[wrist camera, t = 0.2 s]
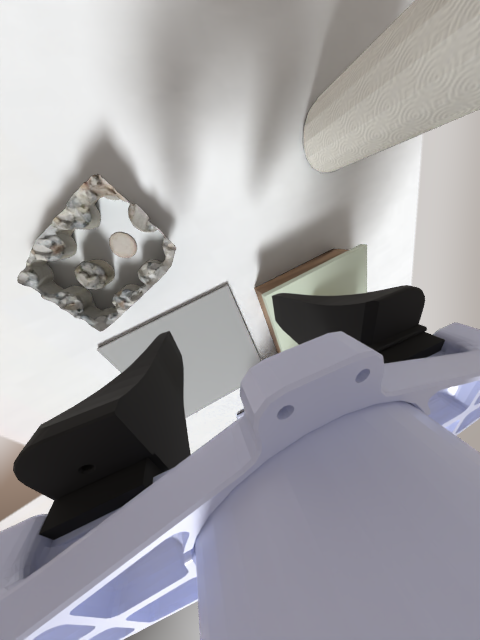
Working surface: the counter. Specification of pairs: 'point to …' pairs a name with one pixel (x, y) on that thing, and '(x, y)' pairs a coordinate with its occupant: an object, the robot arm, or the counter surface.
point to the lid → (322, 285)
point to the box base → (289, 276)
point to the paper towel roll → (399, 85)
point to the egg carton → (95, 272)
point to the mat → (197, 347)
